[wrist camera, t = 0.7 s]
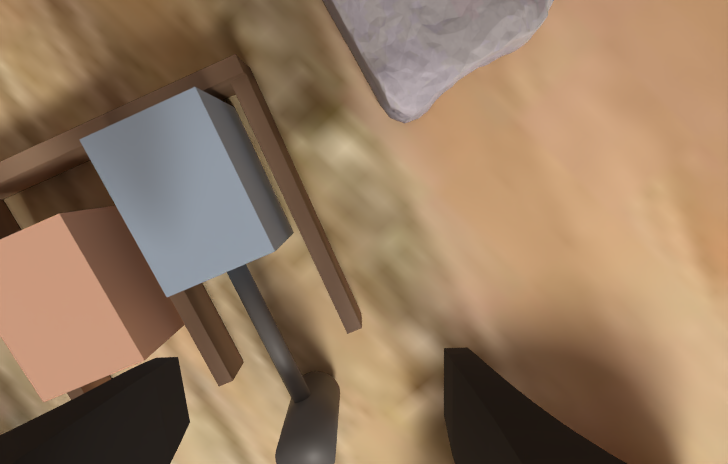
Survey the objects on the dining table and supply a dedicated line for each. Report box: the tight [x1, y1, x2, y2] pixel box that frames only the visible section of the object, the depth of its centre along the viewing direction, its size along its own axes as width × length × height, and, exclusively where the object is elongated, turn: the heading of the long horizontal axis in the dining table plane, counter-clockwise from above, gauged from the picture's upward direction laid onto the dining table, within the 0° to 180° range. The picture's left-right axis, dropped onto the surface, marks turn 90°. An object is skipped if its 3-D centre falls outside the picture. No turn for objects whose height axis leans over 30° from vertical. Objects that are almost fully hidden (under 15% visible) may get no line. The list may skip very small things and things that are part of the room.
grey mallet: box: [79, 87, 340, 464], centre depth 17 cm, size 5×17×5 cm, turn 23°
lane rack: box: [0, 54, 362, 400], centre depth 18 cm, size 15×14×2 cm
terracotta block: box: [0, 206, 185, 402], centre depth 17 cm, size 5×7×4 cm
